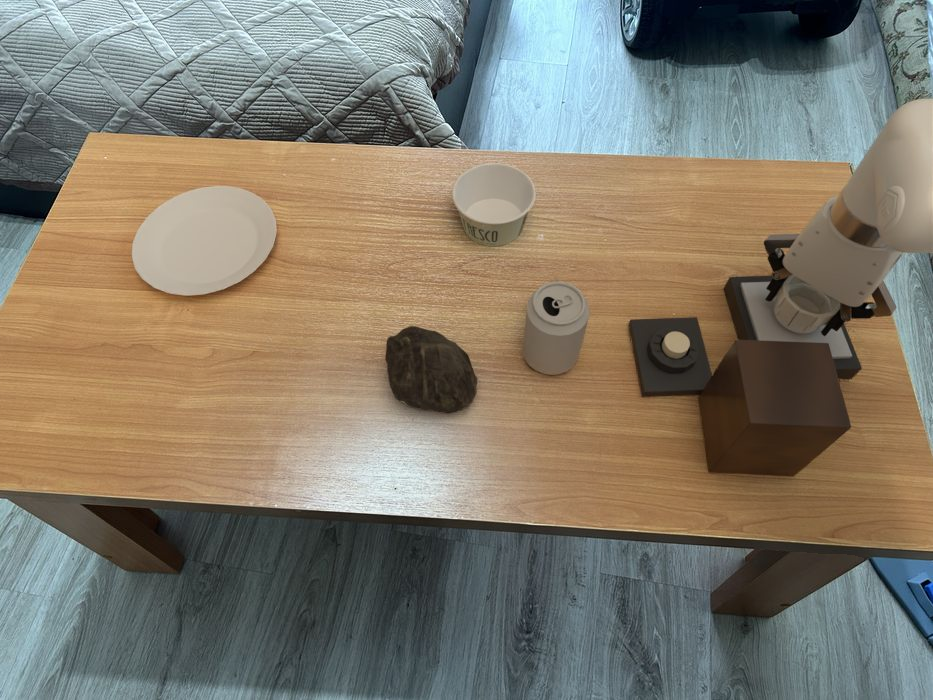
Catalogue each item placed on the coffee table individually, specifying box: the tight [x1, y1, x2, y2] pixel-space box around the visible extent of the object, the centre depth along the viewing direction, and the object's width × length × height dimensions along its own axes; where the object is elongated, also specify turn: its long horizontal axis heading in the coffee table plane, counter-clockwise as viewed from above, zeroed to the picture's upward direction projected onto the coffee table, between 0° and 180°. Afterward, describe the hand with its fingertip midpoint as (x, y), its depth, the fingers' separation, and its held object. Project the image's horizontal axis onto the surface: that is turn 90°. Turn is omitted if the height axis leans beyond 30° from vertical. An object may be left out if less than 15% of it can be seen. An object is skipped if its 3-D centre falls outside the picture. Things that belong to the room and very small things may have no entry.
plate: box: [131, 185, 278, 297], centre depth 96 cm, size 21×21×2 cm
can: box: [521, 280, 590, 376], centre depth 81 cm, size 8×8×12 cm
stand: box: [697, 339, 852, 477], centre depth 74 cm, size 10×10×14 cm
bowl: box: [774, 275, 840, 333], centre depth 82 cm, size 7×7×4 cm
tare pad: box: [628, 316, 713, 398], centre depth 84 cm, size 11×9×3 cm
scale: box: [723, 274, 863, 380], centre depth 86 cm, size 15×13×3 cm
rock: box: [384, 325, 479, 415], centre depth 80 cm, size 10×11×10 cm
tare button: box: [662, 332, 690, 359], centre depth 83 cm, size 3×3×2 cm
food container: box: [451, 162, 537, 247], centre depth 96 cm, size 12×12×6 cm
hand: (800, 310), depth 83 cm, fingers closed on bowl, 7 cm apart
